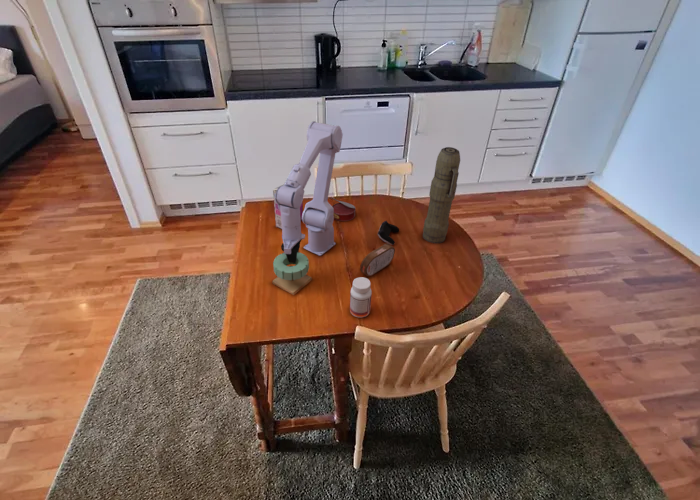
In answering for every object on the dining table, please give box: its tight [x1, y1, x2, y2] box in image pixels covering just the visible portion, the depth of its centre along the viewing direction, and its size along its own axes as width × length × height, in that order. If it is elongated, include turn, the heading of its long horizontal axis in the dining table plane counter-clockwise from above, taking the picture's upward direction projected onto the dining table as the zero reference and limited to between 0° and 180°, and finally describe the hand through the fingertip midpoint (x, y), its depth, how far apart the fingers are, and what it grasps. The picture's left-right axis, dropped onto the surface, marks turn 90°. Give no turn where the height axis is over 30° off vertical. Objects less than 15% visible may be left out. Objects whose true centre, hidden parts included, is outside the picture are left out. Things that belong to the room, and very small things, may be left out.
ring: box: [272, 251, 310, 280], centre depth 124 cm, size 11×11×3 cm
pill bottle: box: [349, 276, 373, 319], centre depth 115 cm, size 6×6×11 cm
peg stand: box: [271, 265, 313, 296], centre depth 126 cm, size 9×9×6 cm
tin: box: [359, 243, 396, 277], centre depth 132 cm, size 15×3×8 cm, turn 134°
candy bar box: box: [272, 184, 304, 230], centre depth 151 cm, size 11×5×16 cm, turn 144°
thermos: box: [422, 146, 461, 244], centre depth 141 cm, size 9×12×35 cm
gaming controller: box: [377, 220, 400, 246], centre depth 149 cm, size 11×4×7 cm
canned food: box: [331, 197, 356, 222], centre depth 161 cm, size 11×10×10 cm
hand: (293, 258), depth 127 cm, fingers closed on ring, 3 cm apart
